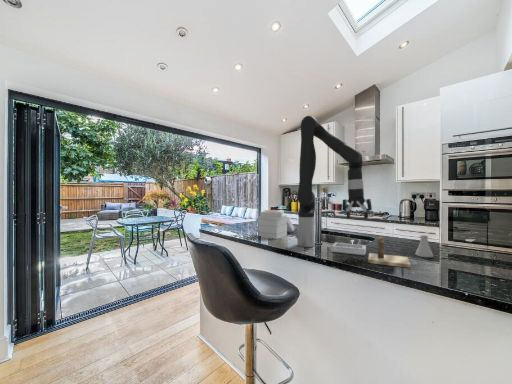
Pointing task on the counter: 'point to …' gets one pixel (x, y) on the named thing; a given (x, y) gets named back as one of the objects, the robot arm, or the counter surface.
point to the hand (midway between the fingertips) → (357, 218)
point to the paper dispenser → (274, 224)
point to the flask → (424, 248)
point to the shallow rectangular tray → (349, 248)
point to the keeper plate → (387, 257)
